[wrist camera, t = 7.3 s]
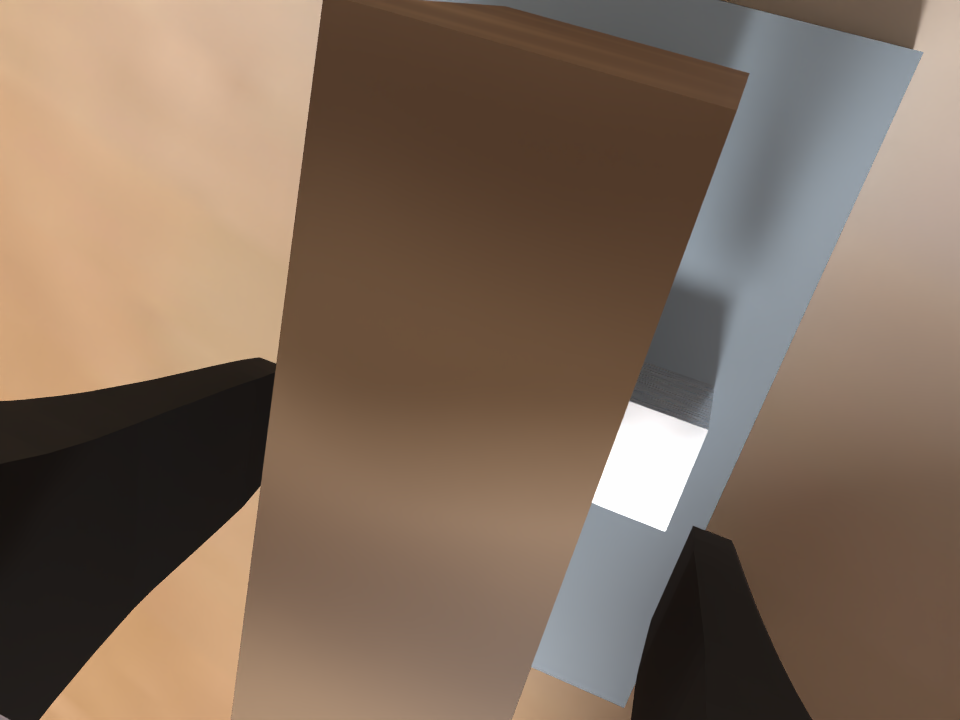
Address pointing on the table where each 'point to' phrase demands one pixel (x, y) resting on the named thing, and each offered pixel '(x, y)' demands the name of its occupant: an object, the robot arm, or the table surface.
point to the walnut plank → (459, 344)
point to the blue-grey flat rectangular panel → (725, 279)
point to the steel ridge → (656, 446)
